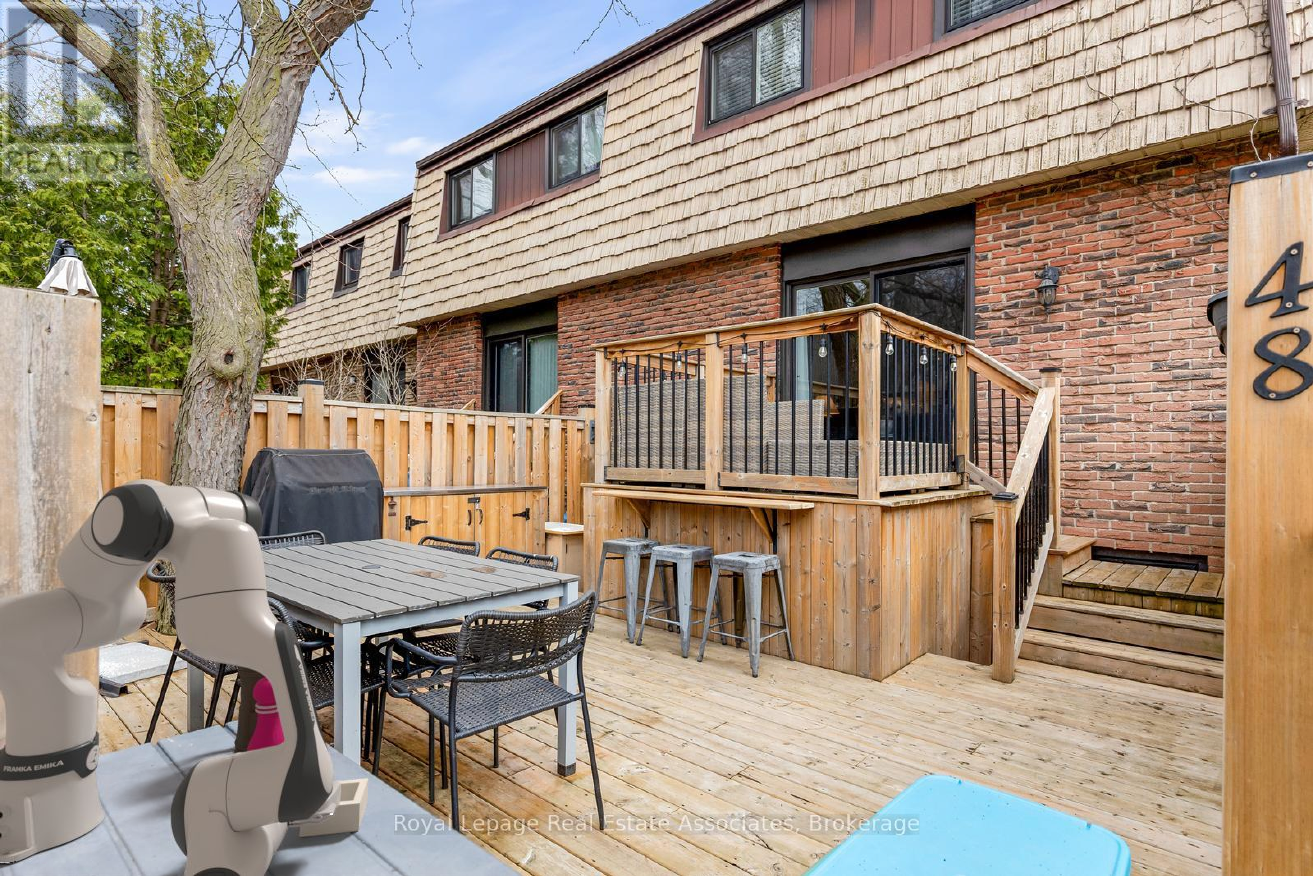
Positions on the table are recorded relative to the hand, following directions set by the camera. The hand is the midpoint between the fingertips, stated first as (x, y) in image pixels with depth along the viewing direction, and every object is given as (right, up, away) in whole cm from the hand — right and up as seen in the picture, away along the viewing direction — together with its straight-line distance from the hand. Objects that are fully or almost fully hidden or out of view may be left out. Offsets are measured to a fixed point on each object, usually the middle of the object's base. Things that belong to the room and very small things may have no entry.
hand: (281, 781), depth 112 cm
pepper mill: (-14, -8, +20) cm, 25 cm away
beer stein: (-21, -9, +29) cm, 37 cm away
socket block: (+7, -8, +4) cm, 11 cm away
